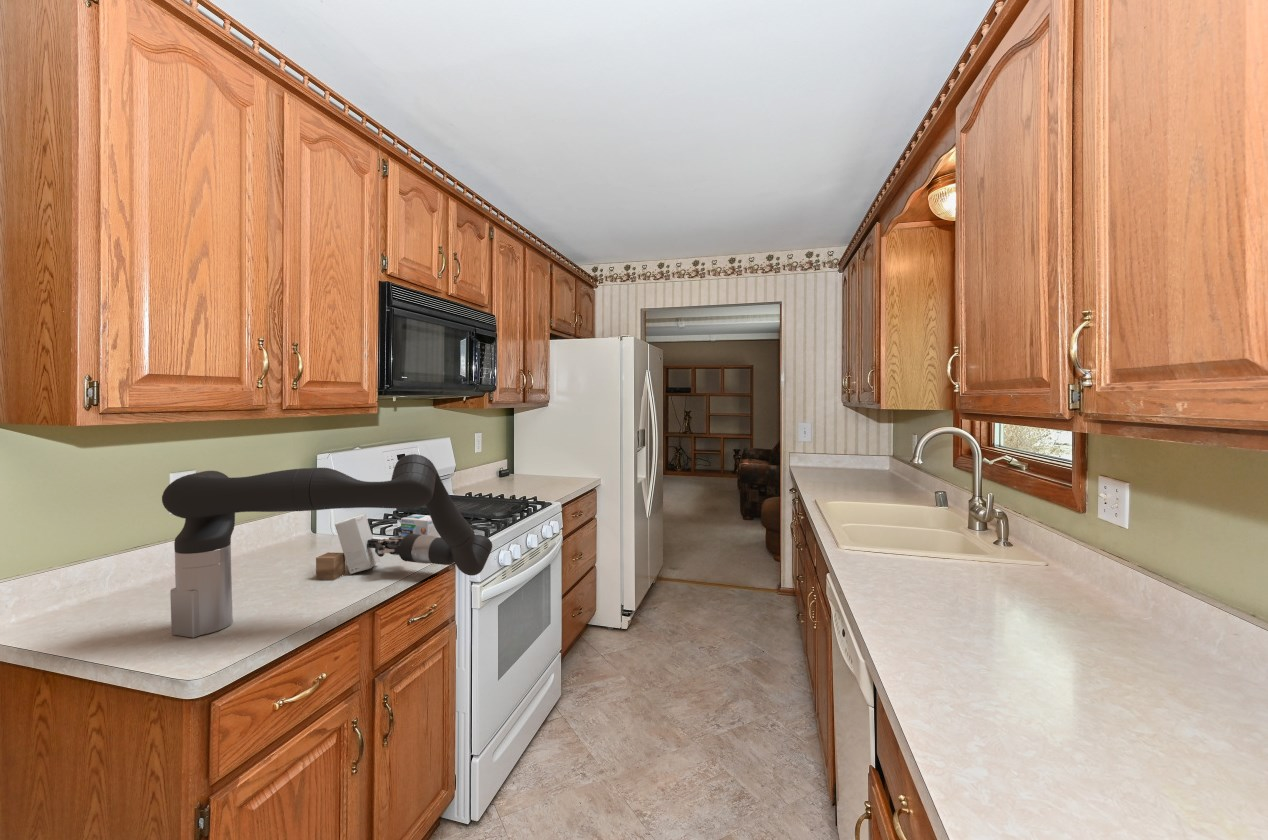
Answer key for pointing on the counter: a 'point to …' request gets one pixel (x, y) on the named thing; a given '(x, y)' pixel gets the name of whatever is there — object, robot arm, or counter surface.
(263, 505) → the robot arm
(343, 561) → the walnut block
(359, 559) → the skincare box
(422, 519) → the light bulb box
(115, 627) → the counter surface
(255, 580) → the counter surface
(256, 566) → the counter surface
